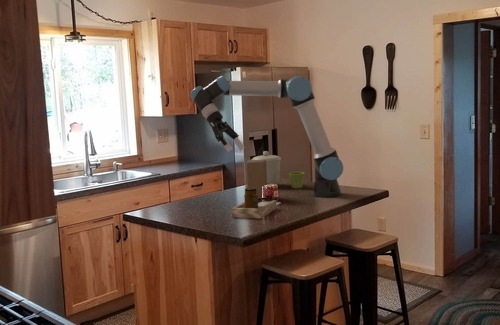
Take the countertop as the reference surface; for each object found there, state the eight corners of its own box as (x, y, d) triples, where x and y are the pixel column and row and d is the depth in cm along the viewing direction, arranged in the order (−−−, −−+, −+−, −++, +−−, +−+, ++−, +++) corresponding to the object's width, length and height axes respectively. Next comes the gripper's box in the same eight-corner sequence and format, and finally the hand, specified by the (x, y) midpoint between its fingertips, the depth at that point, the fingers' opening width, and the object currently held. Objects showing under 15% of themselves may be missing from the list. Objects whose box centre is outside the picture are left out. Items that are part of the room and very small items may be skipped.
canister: (246, 187, 312) (244, 152, 309) (266, 182, 325) (264, 149, 322) (269, 189, 300) (267, 153, 297) (288, 184, 313) (287, 149, 310)
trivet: (280, 203, 260) (280, 202, 260) (273, 207, 251) (273, 206, 250) (262, 202, 264) (261, 201, 264) (254, 206, 254) (254, 205, 254)
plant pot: (307, 186, 303) (306, 171, 302) (302, 189, 295) (301, 174, 294) (292, 186, 307) (291, 171, 306) (286, 189, 298) (286, 174, 297)
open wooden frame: (276, 208, 248) (276, 200, 248) (260, 218, 230) (260, 209, 229) (249, 207, 254) (249, 199, 253) (232, 217, 235) (231, 208, 235)
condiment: (255, 211, 244) (254, 186, 243) (263, 214, 237) (262, 189, 235) (241, 213, 241) (239, 188, 240) (249, 217, 234) (247, 191, 232)
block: (268, 195, 282) (266, 159, 279) (266, 199, 272) (264, 161, 269) (249, 196, 283) (247, 159, 280) (247, 199, 273) (245, 162, 270)
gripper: (218, 119, 266) (242, 153, 262) (194, 119, 243) (219, 155, 239) (229, 110, 263) (252, 144, 259) (205, 109, 240) (230, 146, 236)
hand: (236, 149), depth 249 cm, fingers open, 13 cm apart
